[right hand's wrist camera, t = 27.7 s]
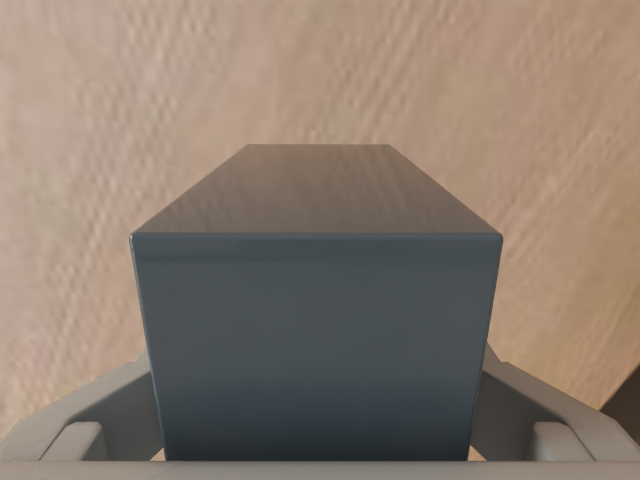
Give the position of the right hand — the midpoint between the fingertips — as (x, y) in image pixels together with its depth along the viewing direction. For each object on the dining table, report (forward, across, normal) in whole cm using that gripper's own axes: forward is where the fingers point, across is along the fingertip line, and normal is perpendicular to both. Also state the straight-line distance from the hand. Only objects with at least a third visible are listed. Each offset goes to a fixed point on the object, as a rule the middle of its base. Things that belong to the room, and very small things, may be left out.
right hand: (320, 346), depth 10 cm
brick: (+4, 0, 0) cm, 4 cm away
